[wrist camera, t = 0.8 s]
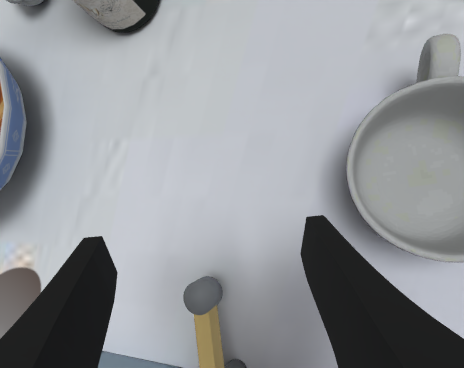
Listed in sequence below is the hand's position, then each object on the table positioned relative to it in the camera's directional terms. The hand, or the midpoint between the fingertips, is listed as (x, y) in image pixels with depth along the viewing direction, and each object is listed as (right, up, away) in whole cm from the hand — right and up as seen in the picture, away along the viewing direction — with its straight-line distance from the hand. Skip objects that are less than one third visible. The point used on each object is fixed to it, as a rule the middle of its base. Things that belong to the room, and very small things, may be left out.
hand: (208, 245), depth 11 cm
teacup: (+16, +4, +14) cm, 22 cm away
